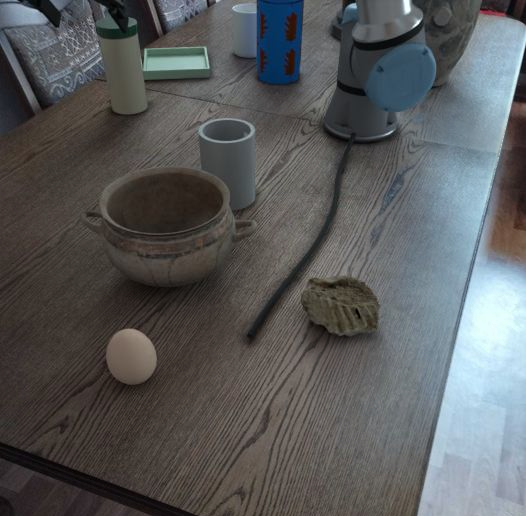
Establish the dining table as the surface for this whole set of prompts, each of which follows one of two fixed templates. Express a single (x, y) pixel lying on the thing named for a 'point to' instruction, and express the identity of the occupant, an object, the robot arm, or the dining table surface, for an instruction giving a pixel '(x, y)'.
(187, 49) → the tray
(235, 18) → the mug
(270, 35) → the thermos
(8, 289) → the dining table surface
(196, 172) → the cooking pot
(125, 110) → the jar
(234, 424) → the dining table surface
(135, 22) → the lid
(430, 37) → the clay pot
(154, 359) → the egg
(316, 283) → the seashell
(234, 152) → the cup
